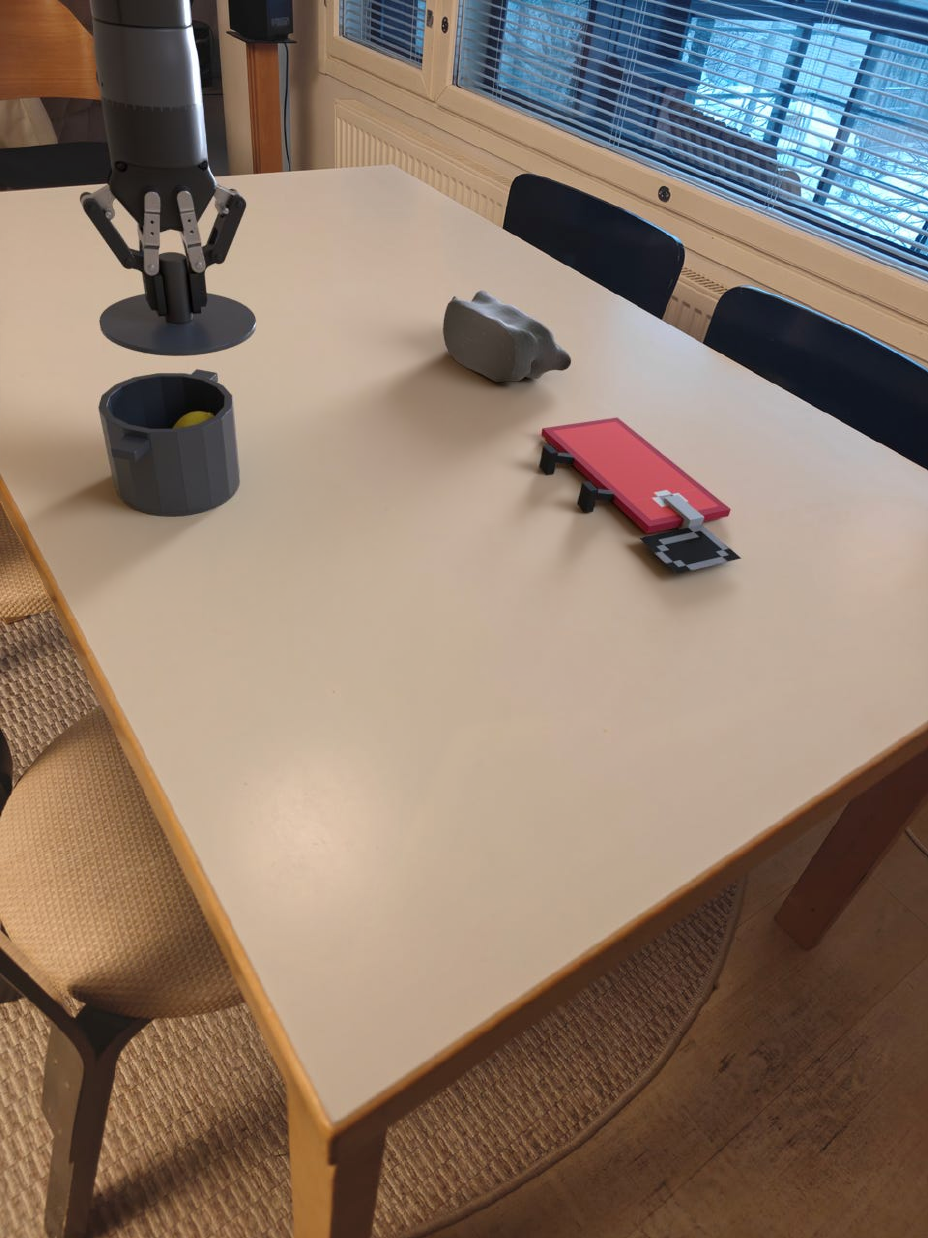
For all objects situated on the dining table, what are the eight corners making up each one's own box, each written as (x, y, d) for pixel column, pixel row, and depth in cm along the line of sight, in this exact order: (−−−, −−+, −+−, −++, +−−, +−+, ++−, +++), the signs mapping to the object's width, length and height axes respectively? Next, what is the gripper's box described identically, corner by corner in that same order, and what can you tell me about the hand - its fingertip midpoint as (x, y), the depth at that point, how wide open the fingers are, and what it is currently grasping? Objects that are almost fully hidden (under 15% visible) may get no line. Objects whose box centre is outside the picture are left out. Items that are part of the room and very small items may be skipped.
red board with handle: (659, 585, 85) (772, 557, 91) (666, 562, 83) (781, 535, 89) (514, 442, 105) (615, 427, 111) (517, 421, 103) (619, 407, 109)
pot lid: (70, 345, 74) (54, 267, 70) (148, 292, 85) (138, 221, 80) (218, 374, 73) (211, 296, 69) (279, 316, 83) (275, 246, 79)
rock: (577, 380, 120) (587, 324, 114) (518, 399, 114) (526, 341, 108) (490, 333, 129) (495, 279, 124) (431, 348, 123) (435, 293, 118)
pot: (78, 516, 86) (57, 431, 79) (163, 432, 99) (151, 354, 93) (197, 541, 84) (185, 456, 78) (267, 453, 98) (262, 374, 92)
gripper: (60, 100, 61) (103, 335, 73) (253, 103, 67) (265, 321, 78) (48, 78, 66) (90, 302, 77) (229, 82, 72) (244, 291, 83)
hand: (178, 310), depth 78 cm, fingers closed on pot lid, 2 cm apart
